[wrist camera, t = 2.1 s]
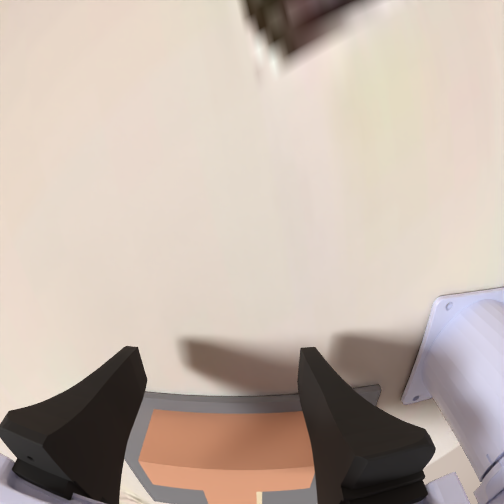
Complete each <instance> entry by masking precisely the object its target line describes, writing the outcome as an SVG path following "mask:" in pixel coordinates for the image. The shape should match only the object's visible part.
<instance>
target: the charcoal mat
mask: <svg viewBox="0 0 504 504" xmlns="http://www.w3.org/2000/svg"><path fill="white" fill-rule="evenodd" d="M353 390H355V391H356V392H357V393H358V394H359V395H361V396H362V397H363V398H364V399H366V400H367V401H369V402H370V403H371V404H373V405H374V406H376V404H377V401H378V398H379V396H380V393H381V388H380V386H379V385H373V386H367V387H360V388H353ZM154 409H158V410H168V411H180V412H196V413H222V414H254V413H280V412H296V411H302V407H301V403H300V398H299V394H296V395H279V396H247V397H224V396H193V395H176V394H163V393H153V392H145V393H144V397H143V400H142V403H141V406H140V409H139V411H138V414H137V417H136V419H135V422H134V425H133V427H132V430H131V433H130V436H129V439H128V442H127V447H126V452H125V456H124V459H125V461H126V462H127V464H128V465H129V467H130V468H131V470H132V471H133V473H134V474H135V476H136V477H137V478H138V480H139V481H140V483H141V484H142V485H143V487H144V488H145V489H146V491H147V492H148V494H149V495H150V496H151V497H152V499H153V500H154V501H157V502H163V503H170V504H208V501H207V499H206V496H205V494H204V491H203V490H192V489H183V488H174V487H167V486H160V485H154V484H152V482H151V481H150V479H149V478H148V476H147V475H146V473H145V471H144V470H143V468H142V466H141V465H140V463H139V462H138V459H139V456H140V452H141V449H142V446H143V442H144V439H145V436H146V433H147V429H148V426H149V423H150V420H151V416H152V413H153V410H154ZM256 495H257V504H318V502H317V490H316V479H315V474H314V477H313V480H312V483H311V486H310V488H306V489H296V490H284V491H266V492H256Z"/></svg>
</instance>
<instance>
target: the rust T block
mask: <svg viewBox="0 0 504 504" xmlns="http://www.w3.org/2000/svg"><path fill="white" fill-rule="evenodd" d="M138 462H139V463H140V465H141V466H142V468H143V470H144V471H145V473H146V475H147V476H148V478H149V479H150V481H151V482H152V484H154V485H160V486H167V487H174V488H183V489H192V490H203V491H204V494H205V496H206V499H207V501H208V504H257V495H256V492H266V491H284V490H296V489H306V488H310V486H311V483H312V480H313V477H314V474H315V470H314V462H313V454H312V447H311V442H310V438H309V434H308V430H307V426H306V423H305V419H304V415H303V411H296V412H280V413H254V414H222V413H196V412H180V411H168V410H158V409H154V410H153V413H152V416H151V420H150V423H149V426H148V429H147V433H146V436H145V439H144V442H143V446H142V449H141V452H140V456H139V459H138Z"/></svg>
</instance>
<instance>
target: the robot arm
mask: <svg viewBox="0 0 504 504" xmlns="http://www.w3.org/2000/svg"><path fill="white" fill-rule="evenodd" d="M448 303H449V304H448ZM447 304H448V305H447ZM446 305H447V306H446ZM297 382H298V391H299V398H300V403H301V407H302V411H303V415H304V419H305V423H306V426H307V430H308V434H309V438H310V442H311V447H312V454H313V462H314V470H315V479H316V490H317V502H318V504H470V502H469V500H468V497H467V495H466V493H465V491H464V489H463V487H462V485H461V483H460V480H459V478H458V476H457V475H456V472H452V473H450V474H448V475H445V476H443V477H440V478H438V479H436V480H434V481H431V482H429V483H428V484H427V485H424V482H423V479H424V478H425V475H424V472H423V469H424V467H425V466H426V465H427V464H428V462H429V461H430V460H431V458H432V457H433V455H434V453H435V449H436V448H435V446H434V444H433V442H432V440H431V438H430V436H429V434H428V433H427V431H426V430H425V429H423V428H421V427H418V426H415V425H412V424H410V423H407V422H404V421H402V420H400V419H398V418H396V417H394V416H392V415H390V414H388V413H386V412H384V411H383V410H381V409H379V408H378V407H376V406H374V405H373V404H371V403H370V402H369V401H367V400H366V399H364V398H363V397H362V396H361V395H359V394H358V393H357V392H356V391H355V390H353V389H352V388H351V387H350V386H349V385H348V384H347V383H346V382H345V381H344V380H343V379H342V378H341V377H340V376H339V375H338V374H337V373H336V372H335V371H334V370H333V368H332V367H331V366H330V365H329V364H328V363H327V361H326V360H325V359H324V358H323V356H322V355H321V354H320V353H319V351H318V350H317V349H316V348H315V347H307V348H301V349H300V361H299V371H298V381H297ZM146 384H147V377H146V374H145V371H144V367H143V364H142V360H141V357H140V353H139V349H138V347H131V346H125V347H124V348H123V349H121V350H120V351H119V352H118V353H117V354H115V355H114V356H113V357H112V358H111V359H109V360H108V361H107V362H106V363H104V364H103V365H102V366H101V367H100V368H98V369H97V370H96V371H94V372H93V373H92V374H90V375H89V376H88V377H86V378H85V379H84V380H82V381H81V382H79V383H78V384H76V385H75V386H73V387H71V388H70V389H68V390H66V391H64V392H63V393H61V394H58V395H56V396H54V397H52V398H50V399H48V400H45V401H43V402H40V403H37V404H34V405H31V406H28V407H24V408H20V409H16V410H11V411H9V412H8V413H7V415H6V416H5V418H4V419H3V421H2V422H1V424H0V438H1V439H2V440H3V442H4V443H5V444H6V445H7V447H8V448H9V449H10V450H11V451H12V453H13V454H14V455H15V456H16V457H17V460H16V462H14V461H13V460H11V459H10V458H8V457H6V456H5V455H3V454H1V453H0V504H119V494H120V483H121V474H122V468H123V462H124V456H125V452H126V447H127V442H128V439H129V436H130V433H131V430H132V427H133V425H134V422H135V419H136V417H137V414H138V411H139V409H140V406H141V403H142V400H143V397H144V393H145V389H146ZM430 398H433V399H434V401H435V402H436V404H437V406H438V407H439V409H440V410H441V412H442V414H443V415H444V417H445V419H446V421H447V422H448V424H449V426H450V427H451V429H452V431H453V432H454V434H455V436H456V438H457V439H458V441H459V443H460V445H461V447H462V448H463V450H464V452H465V454H466V456H467V458H468V459H469V461H470V463H471V465H472V467H473V468H474V471H475V473H476V475H477V476H478V478H479V480H480V482H482V483H481V485H480V486H479V487H478V488H477V489H476V490H475V491H474V495H475V497H476V499H477V501H478V504H504V287H502V288H496V289H489V290H482V291H475V292H468V293H461V294H453V295H445V296H440V297H438V298H437V299H436V300H435V301H434V303H433V305H432V309H431V313H430V317H429V320H428V324H427V327H426V331H425V334H424V337H423V340H422V344H421V347H420V350H419V353H418V356H417V359H416V361H415V364H414V367H413V370H412V373H411V375H410V378H409V380H408V383H407V386H406V388H405V391H404V393H403V396H402V398H401V400H402V402H403V404H405V405H407V404H412V403H416V402H419V401H423V400H427V399H430Z"/></svg>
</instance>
